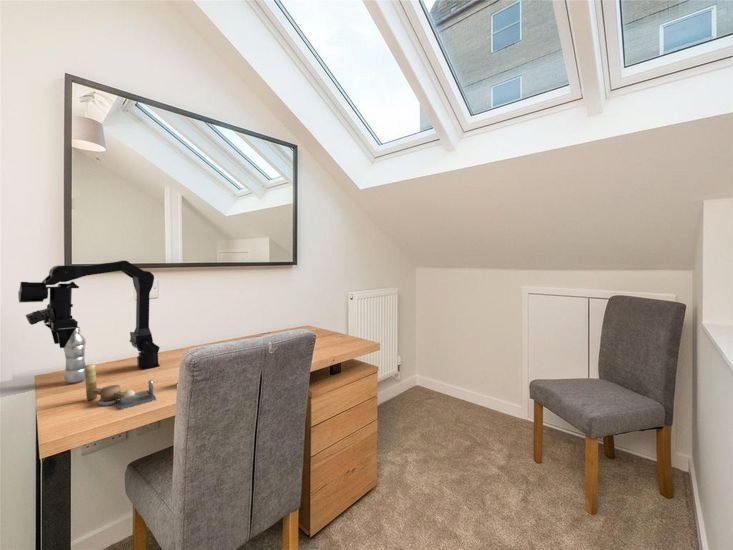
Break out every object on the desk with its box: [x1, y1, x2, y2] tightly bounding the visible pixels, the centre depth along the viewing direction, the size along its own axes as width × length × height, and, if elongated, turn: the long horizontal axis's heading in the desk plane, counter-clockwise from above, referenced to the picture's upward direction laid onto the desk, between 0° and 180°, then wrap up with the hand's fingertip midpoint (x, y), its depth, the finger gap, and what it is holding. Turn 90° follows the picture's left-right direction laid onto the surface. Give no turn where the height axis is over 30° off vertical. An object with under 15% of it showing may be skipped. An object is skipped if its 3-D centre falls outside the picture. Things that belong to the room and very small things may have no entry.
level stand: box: [97, 380, 157, 410], centre depth 107 cm, size 14×12×5 cm
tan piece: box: [85, 363, 136, 401], centre depth 106 cm, size 18×5×11 cm, turn 75°
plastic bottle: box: [63, 326, 87, 384], centre depth 124 cm, size 6×7×20 cm
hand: (59, 345), depth 119 cm, fingers open, 9 cm apart
